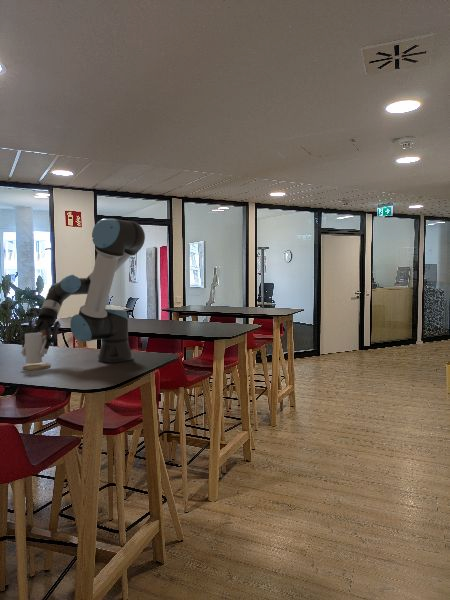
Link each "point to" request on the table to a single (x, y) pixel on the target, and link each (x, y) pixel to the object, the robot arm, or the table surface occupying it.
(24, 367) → the stand
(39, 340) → the mug
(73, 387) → the table surface
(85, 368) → the table surface
